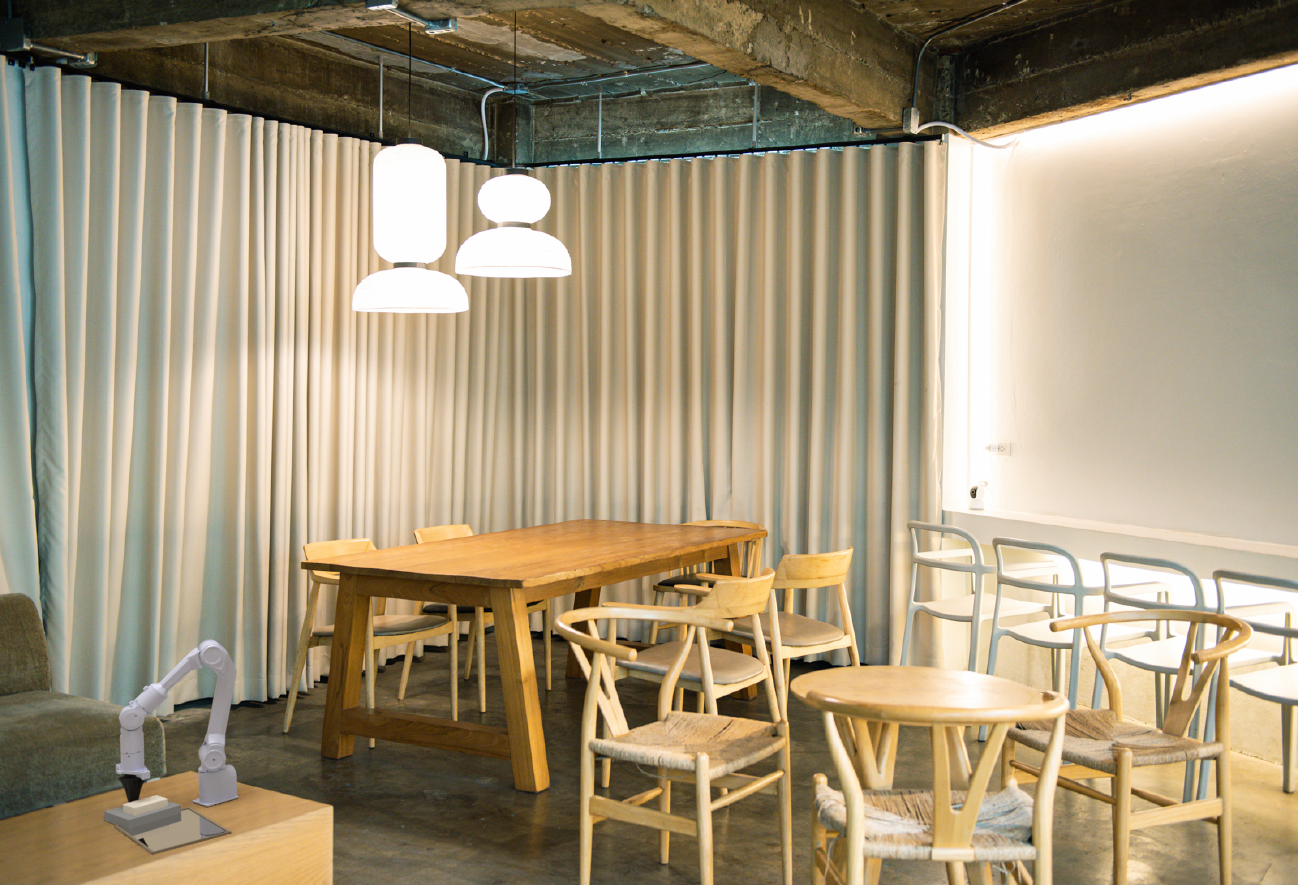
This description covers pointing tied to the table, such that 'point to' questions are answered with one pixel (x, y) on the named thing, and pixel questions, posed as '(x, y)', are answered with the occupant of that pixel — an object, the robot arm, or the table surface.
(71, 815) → the table surface
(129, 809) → the tile
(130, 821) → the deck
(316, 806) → the table surface
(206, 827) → the picture frame
